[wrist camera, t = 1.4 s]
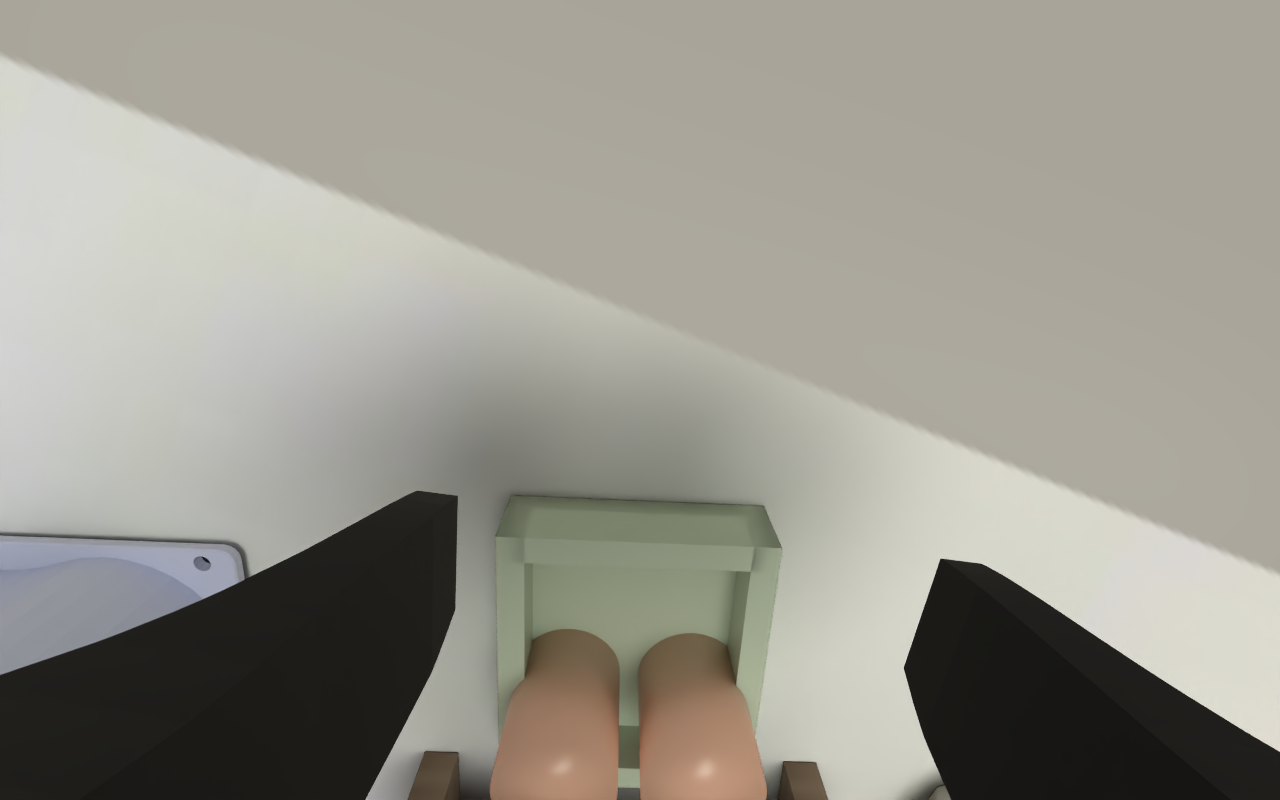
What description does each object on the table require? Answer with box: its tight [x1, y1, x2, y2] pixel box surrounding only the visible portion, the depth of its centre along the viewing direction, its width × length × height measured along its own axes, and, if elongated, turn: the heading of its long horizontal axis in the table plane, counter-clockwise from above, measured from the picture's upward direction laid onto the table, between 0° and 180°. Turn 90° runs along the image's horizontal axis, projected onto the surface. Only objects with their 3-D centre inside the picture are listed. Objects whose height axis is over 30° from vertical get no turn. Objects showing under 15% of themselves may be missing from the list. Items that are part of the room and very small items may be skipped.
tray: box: [490, 495, 782, 800], centre depth 19 cm, size 8×9×5 cm
